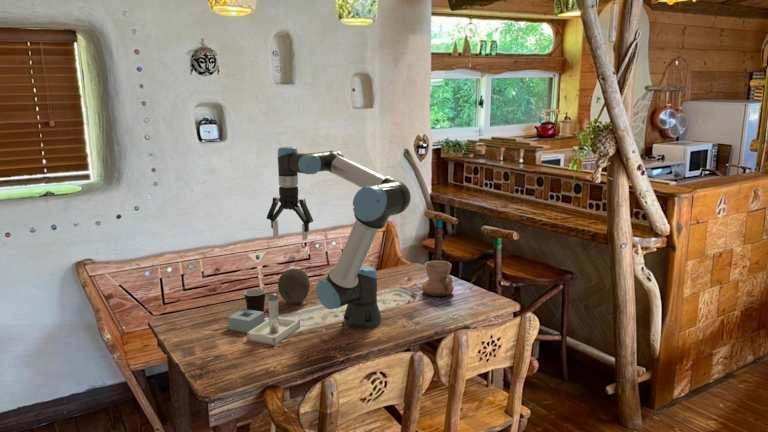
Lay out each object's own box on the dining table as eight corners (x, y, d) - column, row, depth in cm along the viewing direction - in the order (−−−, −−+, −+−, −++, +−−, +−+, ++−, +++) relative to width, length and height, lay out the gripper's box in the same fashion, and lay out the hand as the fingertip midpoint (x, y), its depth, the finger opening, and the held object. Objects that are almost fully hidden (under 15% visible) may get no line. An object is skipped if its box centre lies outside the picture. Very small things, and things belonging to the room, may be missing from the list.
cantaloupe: (316, 303, 258) (315, 270, 255) (286, 310, 250) (285, 276, 247) (301, 295, 270) (300, 263, 267) (273, 301, 262) (271, 268, 259)
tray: (300, 327, 232) (299, 320, 231) (274, 345, 216) (274, 337, 215) (274, 323, 236) (273, 316, 236) (247, 340, 220) (246, 332, 220)
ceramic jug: (414, 291, 275) (414, 261, 272) (439, 285, 282) (440, 257, 279) (436, 303, 260) (437, 272, 257) (463, 297, 267) (463, 267, 264)
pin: (281, 330, 227) (279, 293, 224) (275, 334, 224) (274, 296, 220) (273, 329, 228) (271, 292, 225) (267, 332, 225) (266, 295, 222)
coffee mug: (261, 319, 240) (260, 296, 238) (241, 318, 242) (240, 295, 240) (272, 309, 251) (271, 287, 249) (253, 308, 253) (252, 286, 251)
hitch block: (264, 323, 236) (264, 312, 235) (250, 333, 227) (249, 320, 226) (243, 320, 240) (243, 308, 239) (228, 329, 231) (227, 317, 230)
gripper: (256, 185, 236) (258, 237, 240) (311, 189, 227) (312, 243, 231) (267, 182, 243) (269, 233, 247) (320, 186, 233) (321, 238, 238)
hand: (290, 238), depth 239 cm, fingers open, 13 cm apart
